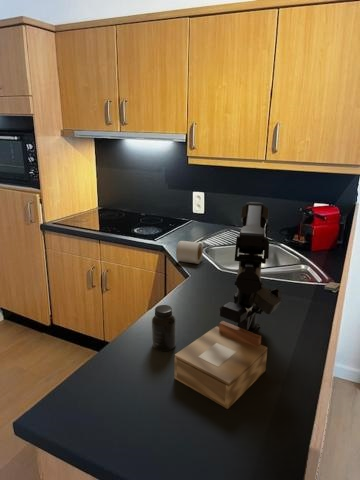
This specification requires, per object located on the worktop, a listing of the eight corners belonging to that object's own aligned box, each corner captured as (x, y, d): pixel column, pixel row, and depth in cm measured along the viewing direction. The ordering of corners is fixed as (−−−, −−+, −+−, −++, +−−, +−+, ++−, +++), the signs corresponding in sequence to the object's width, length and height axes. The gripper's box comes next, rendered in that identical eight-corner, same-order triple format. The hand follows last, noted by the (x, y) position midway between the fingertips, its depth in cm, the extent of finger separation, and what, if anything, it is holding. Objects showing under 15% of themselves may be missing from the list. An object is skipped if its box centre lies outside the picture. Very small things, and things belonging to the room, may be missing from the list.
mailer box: (215, 347, 103) (216, 329, 101) (265, 370, 93) (267, 350, 91) (174, 378, 90) (174, 357, 88) (227, 409, 80) (228, 386, 78)
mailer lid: (216, 328, 101) (216, 318, 100) (267, 349, 91) (268, 339, 90) (174, 356, 88) (174, 345, 87) (229, 385, 78) (229, 373, 77)
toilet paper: (202, 259, 175) (203, 240, 172) (195, 266, 166) (196, 246, 163) (183, 257, 178) (183, 238, 175) (176, 263, 169) (176, 243, 166)
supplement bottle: (163, 336, 109) (162, 300, 105) (180, 344, 104) (180, 307, 101) (147, 346, 103) (146, 309, 100) (164, 355, 99) (164, 316, 96)
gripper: (259, 298, 81) (255, 357, 86) (293, 275, 95) (287, 327, 99) (219, 285, 88) (216, 340, 93) (255, 265, 102) (252, 314, 106)
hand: (245, 330), depth 98 cm, fingers closed
